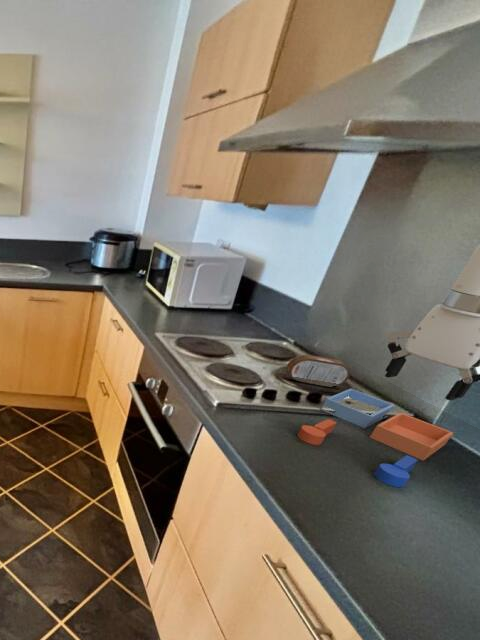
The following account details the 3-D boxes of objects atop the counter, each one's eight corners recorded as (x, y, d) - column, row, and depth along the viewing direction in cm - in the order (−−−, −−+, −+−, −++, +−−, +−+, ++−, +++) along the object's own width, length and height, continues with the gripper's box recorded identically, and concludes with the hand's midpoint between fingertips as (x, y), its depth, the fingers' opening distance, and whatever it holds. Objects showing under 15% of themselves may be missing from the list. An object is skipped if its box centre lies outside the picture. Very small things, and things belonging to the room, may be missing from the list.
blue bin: (387, 416, 109) (395, 404, 107) (364, 428, 102) (372, 416, 101) (344, 399, 116) (350, 388, 114) (320, 409, 110) (326, 398, 108)
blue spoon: (419, 474, 87) (427, 463, 85) (398, 490, 82) (406, 479, 80) (391, 461, 90) (398, 451, 89) (369, 476, 85) (376, 465, 84)
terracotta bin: (444, 444, 98) (453, 432, 96) (423, 460, 91) (432, 448, 90) (392, 424, 105) (400, 412, 104) (369, 437, 99) (377, 425, 97)
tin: (338, 386, 123) (352, 361, 119) (343, 391, 121) (357, 365, 117) (281, 376, 127) (292, 351, 123) (284, 381, 124) (296, 355, 121)
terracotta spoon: (338, 435, 99) (343, 425, 97) (315, 447, 93) (321, 436, 92) (316, 425, 102) (321, 415, 101) (293, 436, 97) (298, 426, 96)
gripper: (555, 318, 69) (487, 406, 77) (424, 290, 83) (379, 367, 91) (535, 321, 66) (467, 411, 74) (404, 291, 80) (359, 370, 88)
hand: (419, 387), depth 83 cm, fingers open, 9 cm apart
